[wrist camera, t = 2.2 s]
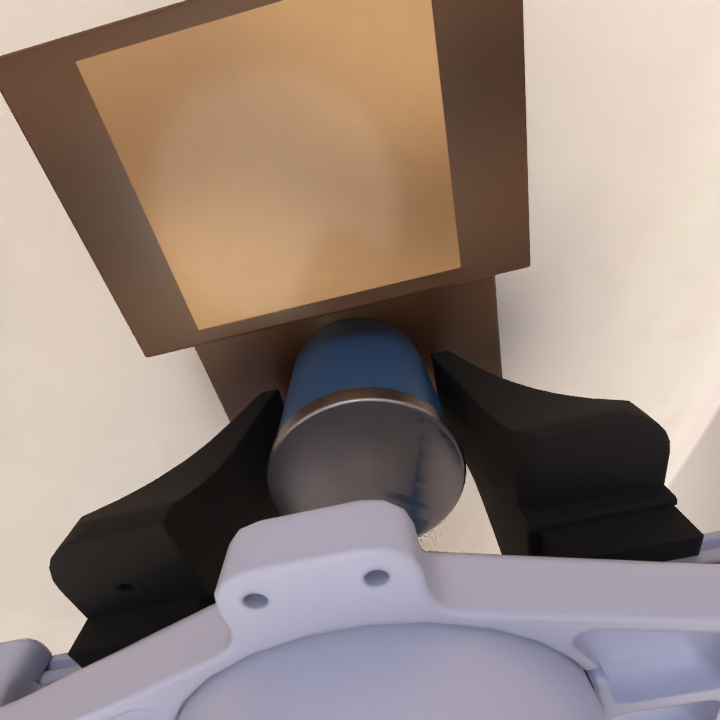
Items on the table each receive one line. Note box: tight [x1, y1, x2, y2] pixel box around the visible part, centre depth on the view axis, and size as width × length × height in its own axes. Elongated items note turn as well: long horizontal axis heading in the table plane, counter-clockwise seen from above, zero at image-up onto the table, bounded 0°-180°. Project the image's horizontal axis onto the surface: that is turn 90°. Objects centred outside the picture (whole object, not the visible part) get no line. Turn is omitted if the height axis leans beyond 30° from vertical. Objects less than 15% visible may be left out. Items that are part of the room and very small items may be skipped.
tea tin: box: [266, 318, 466, 538], centre depth 12 cm, size 5×5×6 cm
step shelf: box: [0, 0, 530, 422], centre depth 12 cm, size 14×11×4 cm
